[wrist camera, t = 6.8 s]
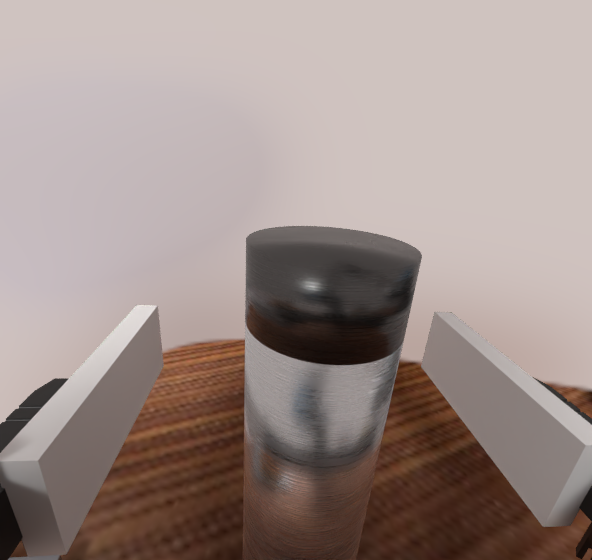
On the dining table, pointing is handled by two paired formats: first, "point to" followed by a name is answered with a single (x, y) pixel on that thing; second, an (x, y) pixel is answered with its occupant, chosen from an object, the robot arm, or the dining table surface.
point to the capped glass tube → (318, 383)
